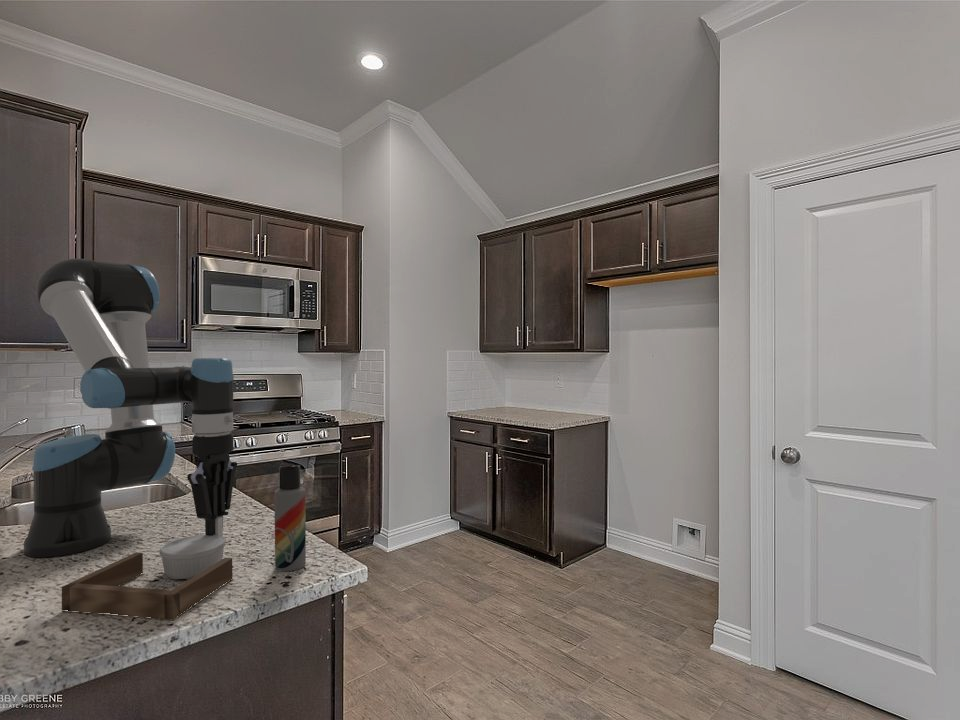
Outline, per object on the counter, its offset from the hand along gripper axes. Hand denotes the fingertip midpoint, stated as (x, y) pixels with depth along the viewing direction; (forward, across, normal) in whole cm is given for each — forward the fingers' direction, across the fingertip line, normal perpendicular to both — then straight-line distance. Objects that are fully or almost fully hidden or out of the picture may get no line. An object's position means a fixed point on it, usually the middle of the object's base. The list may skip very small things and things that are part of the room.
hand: (214, 548), depth 109 cm
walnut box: (+2, -17, 0) cm, 17 cm away
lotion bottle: (+2, -2, -17) cm, 18 cm away
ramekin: (+2, -6, 0) cm, 7 cm away
